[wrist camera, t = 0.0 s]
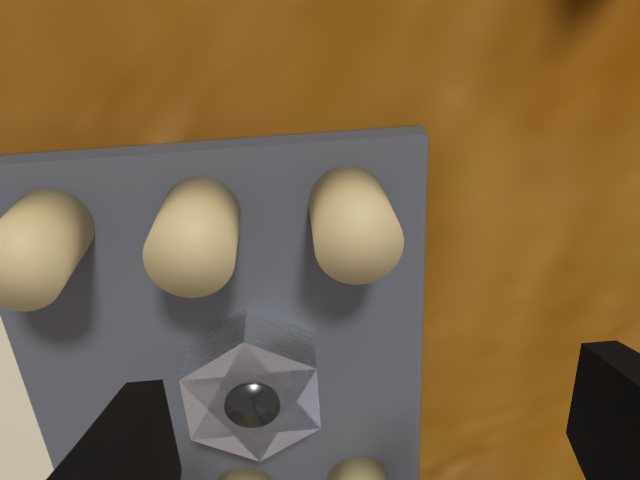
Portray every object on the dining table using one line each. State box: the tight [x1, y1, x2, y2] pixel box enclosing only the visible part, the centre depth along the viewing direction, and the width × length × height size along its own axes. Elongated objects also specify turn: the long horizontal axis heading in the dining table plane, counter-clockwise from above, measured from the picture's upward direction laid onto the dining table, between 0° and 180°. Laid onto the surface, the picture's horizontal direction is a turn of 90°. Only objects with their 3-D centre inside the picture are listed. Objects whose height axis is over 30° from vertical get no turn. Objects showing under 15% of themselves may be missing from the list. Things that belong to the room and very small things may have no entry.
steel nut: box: [179, 307, 321, 462], centre depth 20 cm, size 5×4×2 cm
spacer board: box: [0, 125, 428, 480], centre depth 20 cm, size 16×21×4 cm
